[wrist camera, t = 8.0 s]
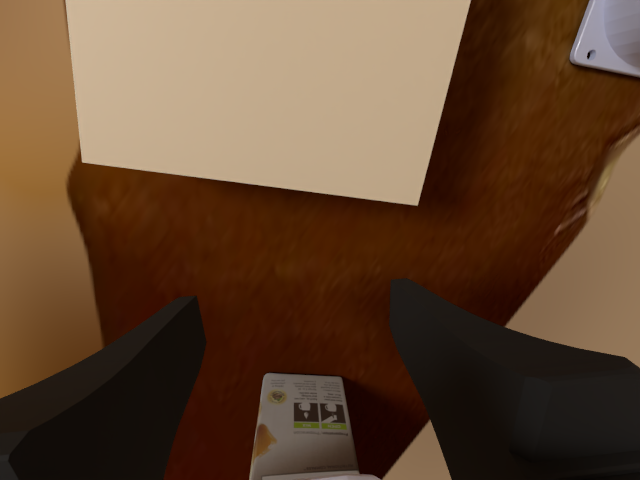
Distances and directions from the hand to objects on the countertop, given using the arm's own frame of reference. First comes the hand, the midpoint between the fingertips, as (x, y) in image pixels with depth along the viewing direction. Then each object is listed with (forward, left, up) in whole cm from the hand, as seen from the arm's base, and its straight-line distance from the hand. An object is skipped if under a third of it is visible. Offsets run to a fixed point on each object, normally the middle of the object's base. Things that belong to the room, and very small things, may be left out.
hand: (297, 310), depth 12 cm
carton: (+2, -10, -9) cm, 14 cm away
